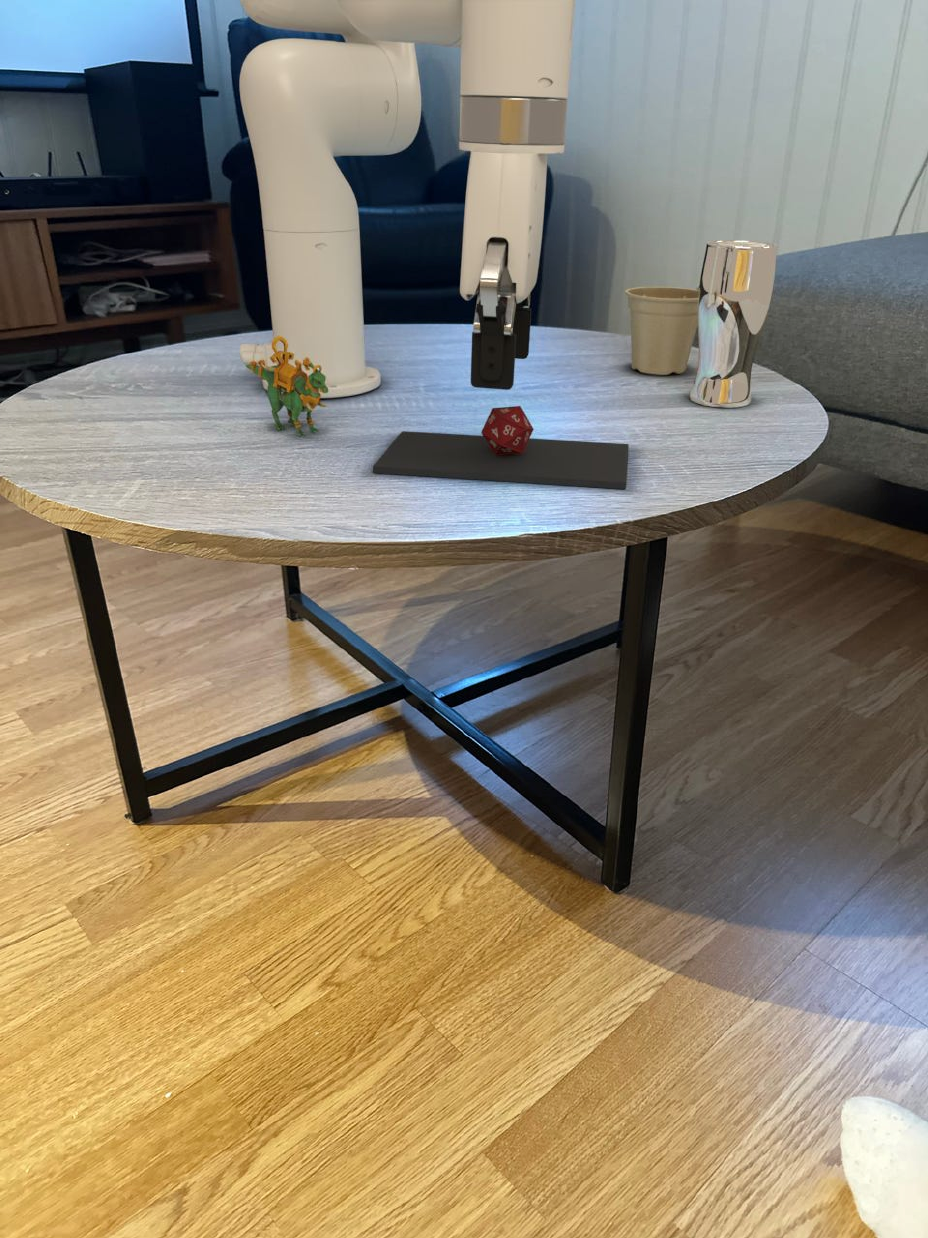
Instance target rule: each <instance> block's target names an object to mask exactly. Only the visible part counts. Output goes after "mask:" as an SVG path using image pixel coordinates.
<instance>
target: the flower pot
mask: <svg viewBox="0 0 928 1238" xmlns="http://www.w3.org/2000/svg"><path fill="white" fill-rule="evenodd" d="M698 292H699V289H694V288H689V287H688V288H687V287H677V286H676V287H675V286H638V287H631V288H628V289H625V290H624V294H625V296H627V307H628V308H629V315H630V316H629V317H630V340H631V341H630V346H631V347H630V349H631V369H632V370H637V371H639V372H640V373H643V374H646V375H657V376H668V375H670V374H672V373H674V374H677V375H680V374H683V373H685V372H686V370H687V367H688V363H689V358H690V355H691V352H692V347H693V344H694V339H695V337H696V332H697V330H698Z"/></svg>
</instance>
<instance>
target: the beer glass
mask: <svg viewBox="0 0 928 1238" xmlns="http://www.w3.org/2000/svg"><path fill="white" fill-rule="evenodd" d="M777 252H778V244H777V243H774V242H769V241H768V242H767V241H758V240H743V239H742V240H741V239H737V240H735V239H733V240H732V239H729V240H728V239H725V240H720V239H719V240H712V241H711V240H710V241H707V242H706V247H705V252H704V256H703V260H702V261H703V262H702V267H701V273H700V277H699V283H698V290H699V292H698V325H697V337H698V361H697V362H698V363H697V369H696V372H695V373H696V374H695V378H694V381H693V384H692V388H691V390H690V395H689V399H690V401H692V402H693V403H694V404H697V405H701V406H705V407H710V408H720V409H722V408H723V409H734V408H735V409H736V408H742V407H747V406H748V405H750V404H751V402H752V370H753V365H754V359H755V355H756V352H757V348H758V346H759V344H760V341H761V340H760V339H761V337H762V334H763V332H764V328H765V324H766V321H767V318H768V314H769V312H770V307H771V303H772V297H773V292H774V287H775V286H774V285H775V276H776V266H777V265H776V264H777V254H778V253H777Z"/></svg>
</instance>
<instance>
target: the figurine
mask: <svg viewBox="0 0 928 1238" xmlns="http://www.w3.org/2000/svg"><path fill="white" fill-rule="evenodd" d="M271 341H272V349H273V350H274V352H275V354H273V355H272V356H271V357H270V359H271V361H272V362H273V363H276V362H277V361H278V362H277V365H275V366H270V367H268V366H265V361H264V360H260V361H258V364H257V363H256V361H250V364H244V366H245V367H246V368H247V369H248V370H249V371H250V372H251V373H253V374H254V375H257V376H258V377H259V378H260V379H261V380H262V379H263V380H266V381H267V383H268V389H267V390H266V394H267V397H268V398H267V399H268V402H269V404H270V407H271V414H272V418H273V420H274V423H275V424H274V427H276V429H277V431H281V430H284V429H286V428H287V425H285V424H284V425H283V424H282V422H281V421H280V418H279V415H278V413H279V412H280V411H281V410H283V408H284V407H285V410H286V411H287V414H288V417H289V418H288V422H287V424H289V425H291V426H292V427H295V429H296V431H297V434H298V436H299V437H301V436H302V435H303V436H306V435H307V433H306V432H303V431H302V429H301V427H302V424H301V421H300V420H299V416H300V415H301V413H306V418H305V419H306V421H307V422H306V424H307V425H308V427H309V430H310V431H311V432H312V433H317V432H319V431H320V429H318V428H315V427H314V420H313V417H312V416H311V415H312V412H313V411H314V410H315V409H316V407H317V406H319V407H321V408H328V407H329V405H327V404H325V403H324V402H322V401H321V399H322V398H321V393H319V389H320V392H322V393H328V388H327V386H326V384H325V379H326V376H325V375H323V374H322V373H321V370H322V368H321V366H320V365H316V366H314V365H313V364H312V362H310V361H309V358H308V357H305V359H303V365H304V366H305V369H306V370H310V368H308V366H309V367H311V368H312V369H313V373H312V374H310V375H309V376H307V374H306V373H305V372H304V371H302V366H301V364H302V363H300V362H299V361H298V360H295V365H296V368H295V367H294V366H292V365H290V364H289V363H288V362H289V359H290V360H293V357H294V354H293V353H291V352H287V348H288V343H287V341H286V340H285V338H283V337H281V336H277V337H275V338H274V339H273V338H272V340H271ZM278 341H281V342H282V343H283V344H284V351H278V352H277V349H276V343H277V342H278ZM281 354H283V355H282V357H281ZM275 358H276V359H277V360H276V359H275ZM251 364H252V365H251ZM318 367H319V371H318V370H317V368H318Z"/></svg>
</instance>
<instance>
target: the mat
mask: <svg viewBox="0 0 928 1238" xmlns="http://www.w3.org/2000/svg"><path fill="white" fill-rule="evenodd" d="M629 447H630V446H629V443H619V442H618V443H615V442H601V441H600V442H599V441H583V440H581V441H580V440H566V439H546V438H531V437H530V438H529V441H528V443H527V445H526V447H525V449H524V451H523V453H522V454H506V455H495V454H494V453H493V451H492V449H491V448H490V446H489V444H488V443H487V441H486V440H485V438H484V436H483V435H476V434H460V433H459V434H458V433H443V432H442V433H441V432H426V431H425V432H424V431H423V432H422V431H407V430H402V431H401V432H400V433H399V435H398V436H397V437H396V438H395V439H394V440H393V441H392V443H391V444H390V445H389V446H388V447H387V448H386V450H385V451H384V452H383V454H382V455H381V456H380V457H379V458H378V459H377V461H375V463H374V464H373V465H372V472H373V474H384V475H385V474H386V475H400V476H401V475H402V476H414V477H415V476H416V477H428V478H429V477H431V478H445V479H459V480H460V479H461V480H462V479H463V480H475V481H476V480H477V481H494V482H508V483H509V482H510V483H523V484H536V485H537V484H538V485H553V486H555V485H556V486H571V487H584V488H585V487H586V488H598V489H599V488H601V489H614V490H615V489H616V490H617V489H618V490H626V489H627V481H628V480H627V478H628V462H629Z"/></svg>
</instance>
